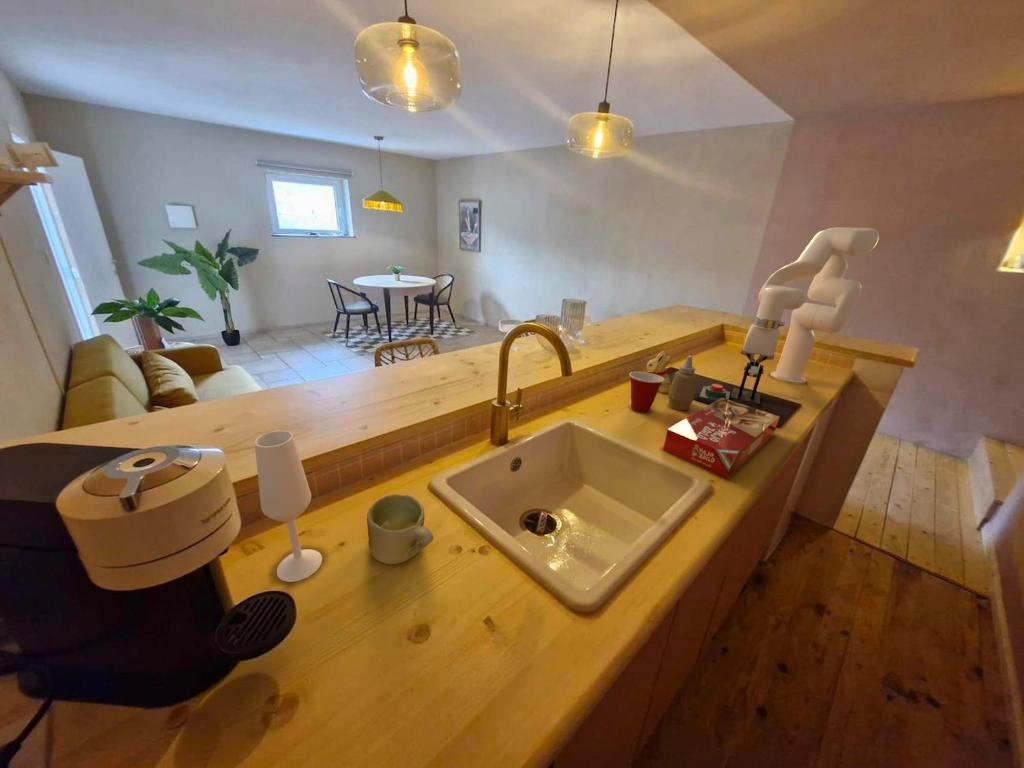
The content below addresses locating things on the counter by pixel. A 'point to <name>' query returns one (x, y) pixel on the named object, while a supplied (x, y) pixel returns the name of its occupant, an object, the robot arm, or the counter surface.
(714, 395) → the button housing
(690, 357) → the squeeze bottle
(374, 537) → the mug
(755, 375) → the lever
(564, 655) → the counter surface
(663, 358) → the chocolate bunny
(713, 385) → the button
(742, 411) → the food box
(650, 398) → the plastic cup
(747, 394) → the bracket
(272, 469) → the champagne flute
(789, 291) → the robot arm
